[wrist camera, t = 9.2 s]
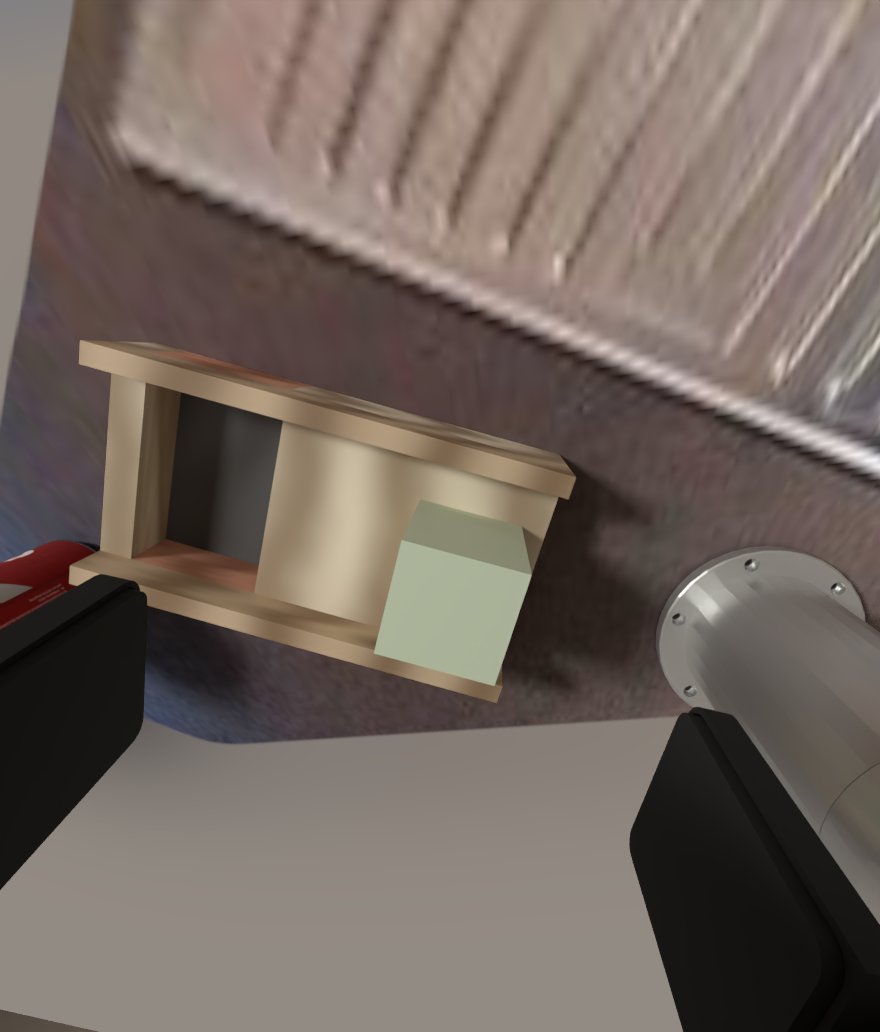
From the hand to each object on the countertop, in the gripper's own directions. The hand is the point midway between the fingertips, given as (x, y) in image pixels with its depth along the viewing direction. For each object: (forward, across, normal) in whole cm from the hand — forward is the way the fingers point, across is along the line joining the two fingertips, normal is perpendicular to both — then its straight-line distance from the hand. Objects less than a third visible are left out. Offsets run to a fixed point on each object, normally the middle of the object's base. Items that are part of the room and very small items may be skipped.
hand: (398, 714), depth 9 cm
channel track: (+25, +7, +5) cm, 27 cm away
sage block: (+21, -1, +6) cm, 22 cm away
